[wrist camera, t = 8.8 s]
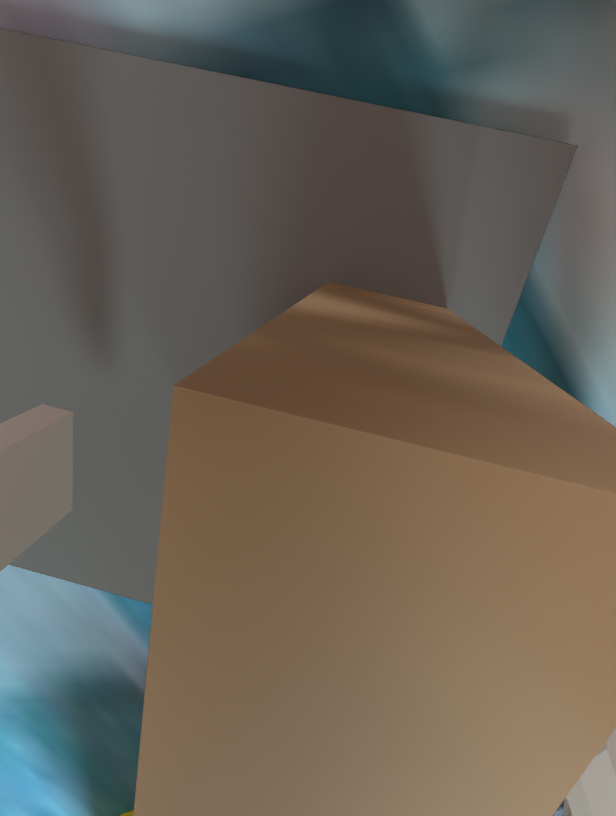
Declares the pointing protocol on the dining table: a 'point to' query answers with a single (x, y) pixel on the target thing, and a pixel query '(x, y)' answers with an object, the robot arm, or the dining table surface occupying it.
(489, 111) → the dining table surface
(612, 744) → the light grey toy spaceship
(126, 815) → the yellow paper roll
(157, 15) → the dining table surface
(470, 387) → the rectangular block
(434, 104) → the dining table surface
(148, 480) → the mat
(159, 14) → the dining table surface
